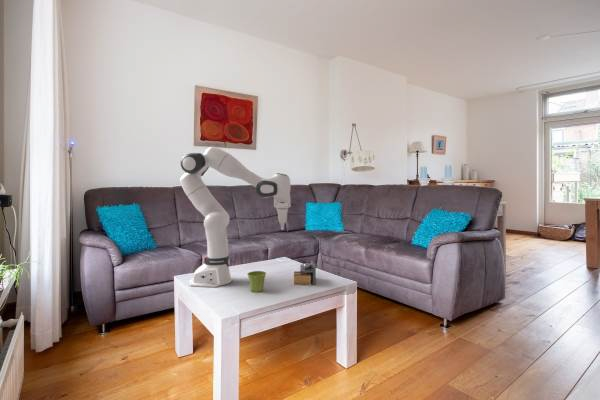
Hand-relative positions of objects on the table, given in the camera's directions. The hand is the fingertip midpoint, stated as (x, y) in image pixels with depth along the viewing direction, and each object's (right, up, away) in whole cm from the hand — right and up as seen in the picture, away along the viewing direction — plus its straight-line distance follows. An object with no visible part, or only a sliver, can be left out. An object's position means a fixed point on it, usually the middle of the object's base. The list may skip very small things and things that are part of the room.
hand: (282, 229), depth 173 cm
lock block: (+11, -29, +3) cm, 31 cm away
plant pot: (-12, -30, -10) cm, 34 cm away
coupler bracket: (+14, -29, +3) cm, 33 cm away
